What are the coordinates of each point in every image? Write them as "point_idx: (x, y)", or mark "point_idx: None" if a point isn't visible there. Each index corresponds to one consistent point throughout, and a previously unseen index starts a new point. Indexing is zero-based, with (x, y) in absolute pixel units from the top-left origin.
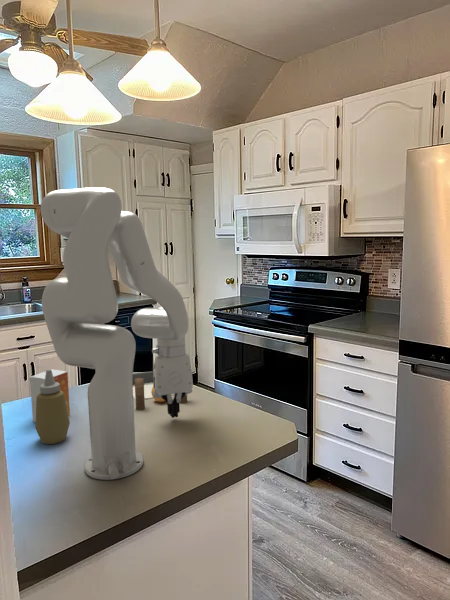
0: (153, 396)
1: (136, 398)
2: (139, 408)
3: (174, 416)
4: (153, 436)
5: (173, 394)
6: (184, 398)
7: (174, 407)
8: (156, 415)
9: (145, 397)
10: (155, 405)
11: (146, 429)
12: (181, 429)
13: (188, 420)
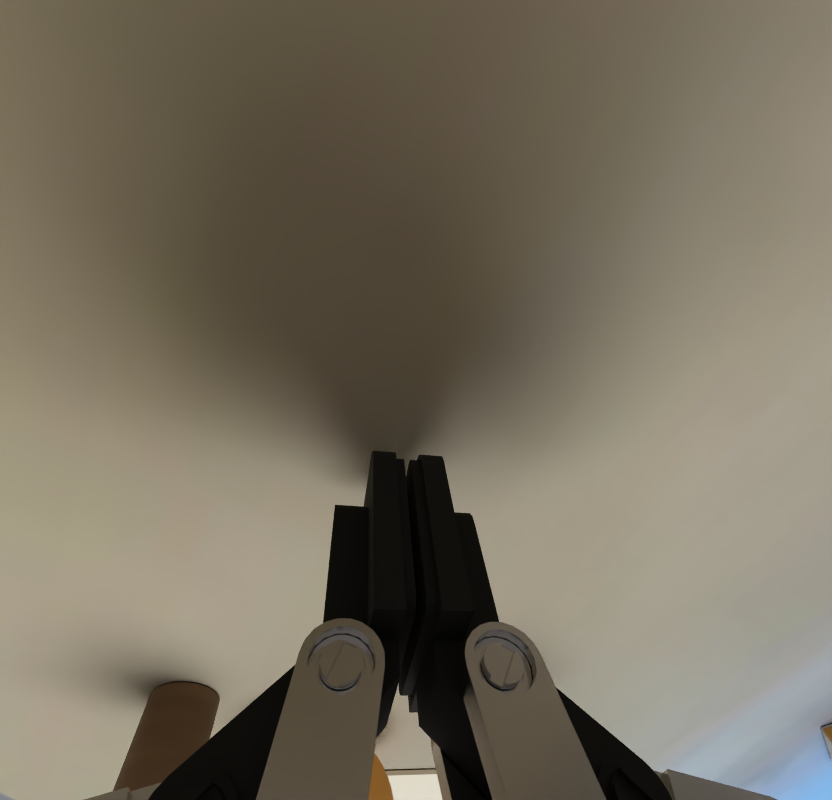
0: (390, 786)
1: None
2: None
3: (416, 462)
4: (790, 217)
5: None
6: (162, 727)
7: (423, 556)
8: None
9: (397, 781)
10: None
11: (702, 413)
12: (425, 215)
13: (249, 405)
